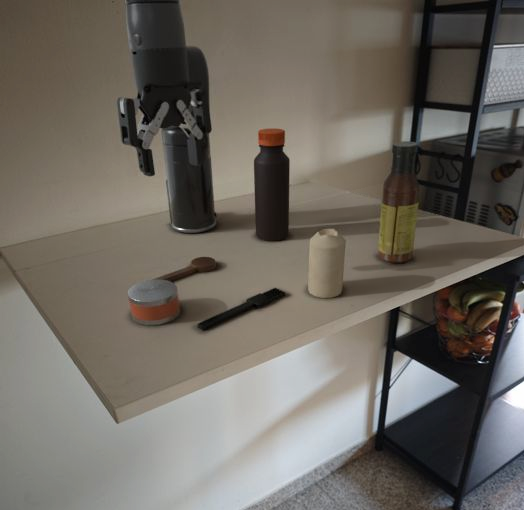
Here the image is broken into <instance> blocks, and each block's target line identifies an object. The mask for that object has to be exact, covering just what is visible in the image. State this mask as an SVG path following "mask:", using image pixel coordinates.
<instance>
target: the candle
mask: <svg viewBox="0 0 524 510" xmlns="http://www.w3.org/2000/svg"><path fill="white" fill-rule="evenodd" d="M346 246H347V241H346V239H345V238H344V236H343V235H342V234H340V233H339V232H338V231H337V230H336V229H334V228H323V229H321V230H320V231H318V230H317V232H316V233H315V234H314V235H312V236H311V238H310V239H309V251H308V252H309V253H308V278H307V279H308V280H307V288H308V293H309V294H310V295H311V296H314V297H317V298H321V299H331V298H335V297H337V296H340V295H341V294H342V291H343V283H344V271H345V257H346Z"/></svg>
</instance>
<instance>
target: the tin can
mask: <svg viewBox="0 0 524 510" xmlns="http://www.w3.org/2000/svg"><path fill="white" fill-rule="evenodd" d="M127 297H128V303H129V308H130V313H131V318H132V319H133V321H134V322H136V323H137V324H140V325H144V326H160V325H164V324H167V323H170V322H172V321H174V320H175V319H176V318H177V317H179V316H180V313H181V310H180V309H181V308H180V301H179V300H180V299H179V292H178V286H177V285H176V284H175V282H172V281H167V280H152V279H148V280H144V281H140V282H138V283H135V284H133V285H132V286H131V287H130V288H129V289H128V290H127Z"/></svg>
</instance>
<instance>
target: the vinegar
mask: <svg viewBox="0 0 524 510" xmlns="http://www.w3.org/2000/svg"><path fill="white" fill-rule="evenodd" d="M257 133H258V134H257V141H258V147H259V150H260V151H259V152H258V154H257V155H256V156H255V157H254V159H253V179H254V180H253V181H254V182H253V183H254V185H253V187H254V188H253V189H254V218H255V221H254V223H255V224H254V225H255V236H256V238H258V239H259V240H262V241H267V242H277V241H281V240H284V239H286V238H288V236H289V234H290V170H291V169H290V166H291V165H290V163H291V160H290V158H289V156H288V154H286V153H285V151H284V147H285V144H286V130H284V129H281V128H263V129H259V130H258V131H257Z"/></svg>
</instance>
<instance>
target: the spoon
mask: <svg viewBox="0 0 524 510" xmlns="http://www.w3.org/2000/svg"><path fill="white" fill-rule="evenodd" d="M216 268H217V264H216V259H215V258H213V257H210V256H198V257H196V258H193V259H192V260H191V261H190V265H189V266H186V267H184V268H183V267H182V268H181V269H178V270H175V271H172V272H169V273H166V274H164V275H161V276H158V277H155V278H152V279H151V280H167V281H170V282H172V281H175V280H178V279H181V278H184V277H186V276H189V275H191V274H194V273H197V272H198V273H207V272H211V271H213V270H215V269H216Z"/></svg>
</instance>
